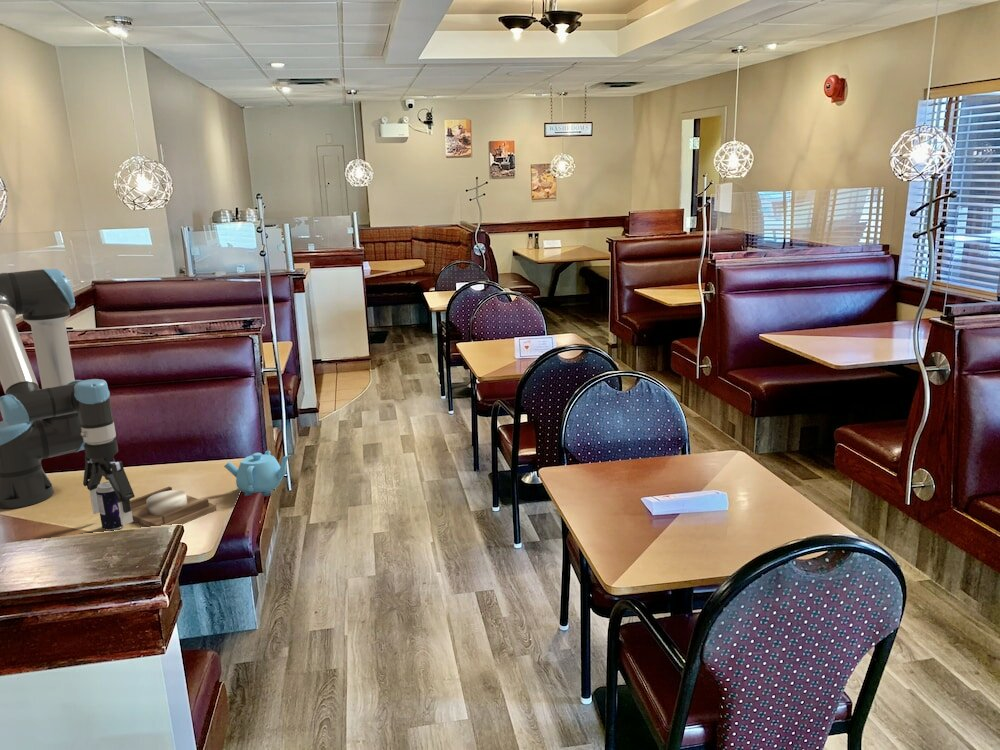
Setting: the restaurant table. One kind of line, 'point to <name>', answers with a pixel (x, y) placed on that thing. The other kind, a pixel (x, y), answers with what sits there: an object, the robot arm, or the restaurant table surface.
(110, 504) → the beverage can
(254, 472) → the teapot
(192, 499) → the brown wooden tray
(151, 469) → the restaurant table surface
